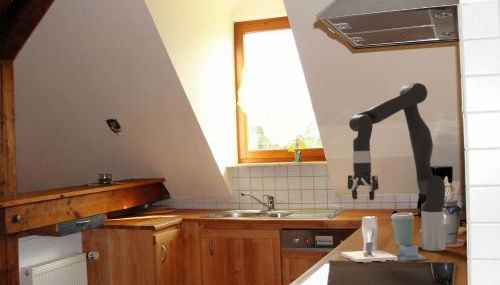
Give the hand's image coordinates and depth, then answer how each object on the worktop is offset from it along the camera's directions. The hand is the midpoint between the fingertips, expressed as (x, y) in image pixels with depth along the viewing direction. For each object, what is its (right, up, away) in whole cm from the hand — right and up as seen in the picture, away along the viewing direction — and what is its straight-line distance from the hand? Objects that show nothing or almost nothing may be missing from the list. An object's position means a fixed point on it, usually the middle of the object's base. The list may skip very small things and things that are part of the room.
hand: (363, 199), depth 243 cm
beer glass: (+5, -24, +12) cm, 27 cm away
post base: (+1, -24, -6) cm, 24 cm away
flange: (+18, -24, -6) cm, 30 cm away
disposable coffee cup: (+24, -24, +25) cm, 42 cm away
